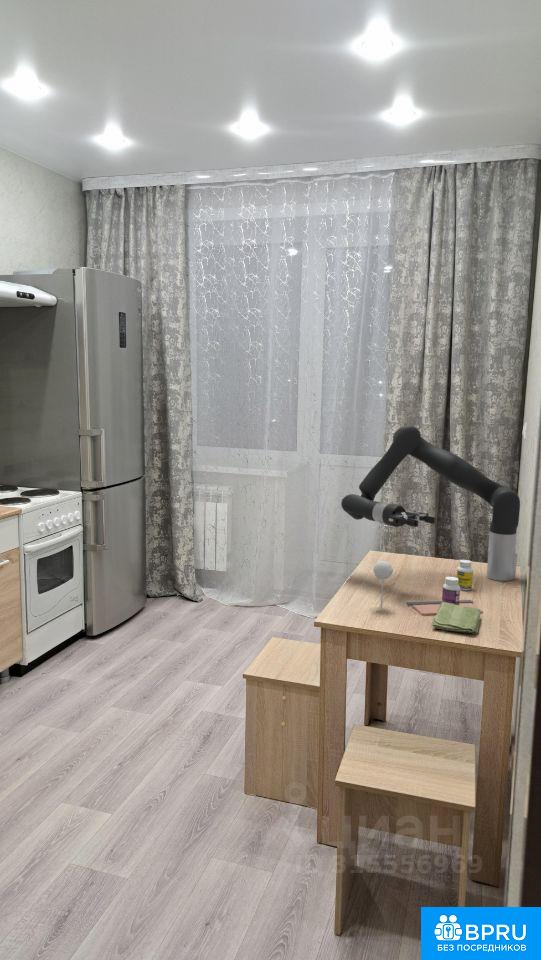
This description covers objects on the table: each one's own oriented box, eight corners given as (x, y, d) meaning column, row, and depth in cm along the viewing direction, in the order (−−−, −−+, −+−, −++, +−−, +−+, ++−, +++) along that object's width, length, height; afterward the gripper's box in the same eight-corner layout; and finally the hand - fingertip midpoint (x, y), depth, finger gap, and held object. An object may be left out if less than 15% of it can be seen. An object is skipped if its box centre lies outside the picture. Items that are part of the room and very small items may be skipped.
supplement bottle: (454, 589, 238) (456, 562, 236) (456, 585, 243) (458, 558, 241) (471, 591, 236) (472, 563, 234) (472, 587, 241) (474, 560, 239)
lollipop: (392, 605, 220) (394, 559, 218) (389, 611, 214) (391, 564, 212) (373, 602, 222) (375, 557, 220) (370, 608, 216) (371, 562, 214)
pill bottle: (459, 611, 213) (461, 581, 212) (441, 609, 214) (443, 580, 213) (458, 605, 219) (460, 576, 217) (441, 604, 220) (443, 575, 218)
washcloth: (430, 629, 199) (431, 619, 198) (439, 609, 215) (440, 599, 214) (477, 637, 194) (478, 626, 193) (482, 616, 210) (483, 606, 209)
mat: (470, 601, 225) (470, 599, 225) (485, 613, 214) (486, 611, 214) (406, 603, 222) (406, 602, 221) (418, 615, 211) (418, 613, 211)
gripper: (375, 505, 232) (412, 513, 220) (402, 501, 241) (440, 508, 229) (374, 527, 233) (411, 536, 221) (402, 522, 242) (439, 530, 230)
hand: (426, 522), depth 225 cm, fingers open, 8 cm apart
